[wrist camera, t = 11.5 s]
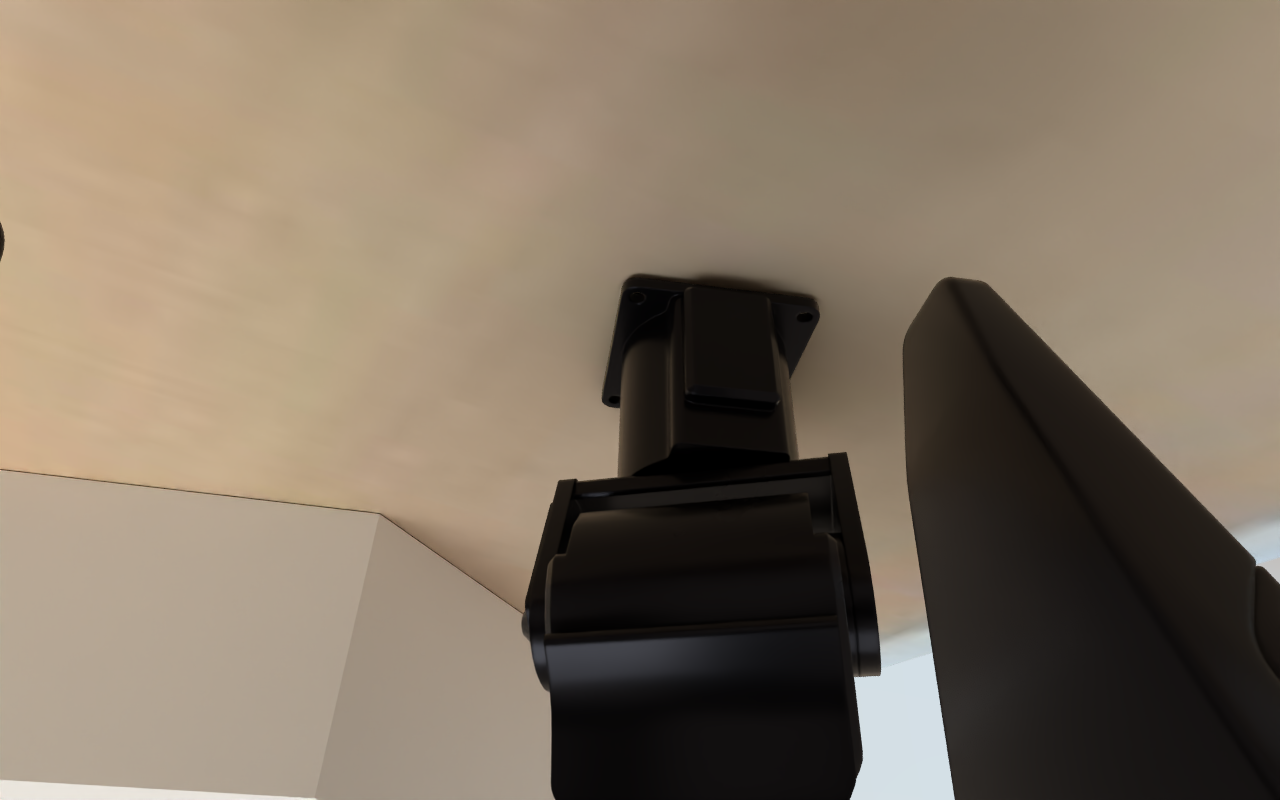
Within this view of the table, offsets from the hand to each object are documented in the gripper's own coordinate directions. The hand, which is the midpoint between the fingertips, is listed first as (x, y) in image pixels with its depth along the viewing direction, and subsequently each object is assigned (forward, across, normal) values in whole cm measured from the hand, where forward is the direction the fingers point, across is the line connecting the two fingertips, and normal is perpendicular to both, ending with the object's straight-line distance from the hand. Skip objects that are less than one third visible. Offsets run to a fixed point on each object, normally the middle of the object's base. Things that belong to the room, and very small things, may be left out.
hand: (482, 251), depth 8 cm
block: (+13, +11, +38) cm, 42 cm away
